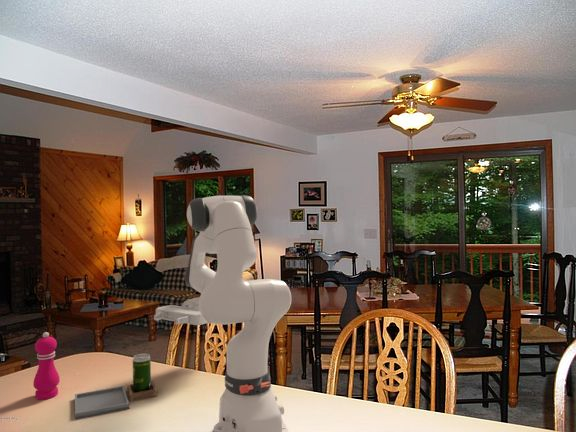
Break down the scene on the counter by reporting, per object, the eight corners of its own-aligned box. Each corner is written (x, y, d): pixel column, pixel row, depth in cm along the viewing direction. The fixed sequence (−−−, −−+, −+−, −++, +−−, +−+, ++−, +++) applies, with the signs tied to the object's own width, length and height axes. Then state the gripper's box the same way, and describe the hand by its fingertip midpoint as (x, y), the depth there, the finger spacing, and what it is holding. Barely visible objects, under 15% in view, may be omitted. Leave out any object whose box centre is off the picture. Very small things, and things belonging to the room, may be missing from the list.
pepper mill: (48, 401, 134) (47, 336, 134) (28, 399, 136) (26, 334, 135) (65, 391, 141) (63, 329, 141) (45, 389, 143) (44, 328, 142)
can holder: (157, 395, 138) (157, 389, 138) (130, 401, 134) (130, 394, 134) (153, 386, 145) (152, 380, 145) (127, 391, 141) (127, 384, 141)
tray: (129, 408, 129) (128, 403, 129) (75, 419, 123) (75, 413, 123) (123, 390, 142) (123, 385, 142) (74, 399, 136) (74, 394, 136)
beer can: (150, 389, 143) (150, 352, 143) (151, 395, 138) (150, 357, 138) (133, 391, 141) (132, 354, 141) (132, 398, 136) (132, 359, 136)
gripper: (171, 299, 166) (143, 307, 154) (214, 305, 156) (188, 314, 144) (171, 316, 167) (143, 324, 154) (214, 323, 157) (188, 333, 145)
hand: (165, 319), depth 149 cm, fingers open, 8 cm apart
